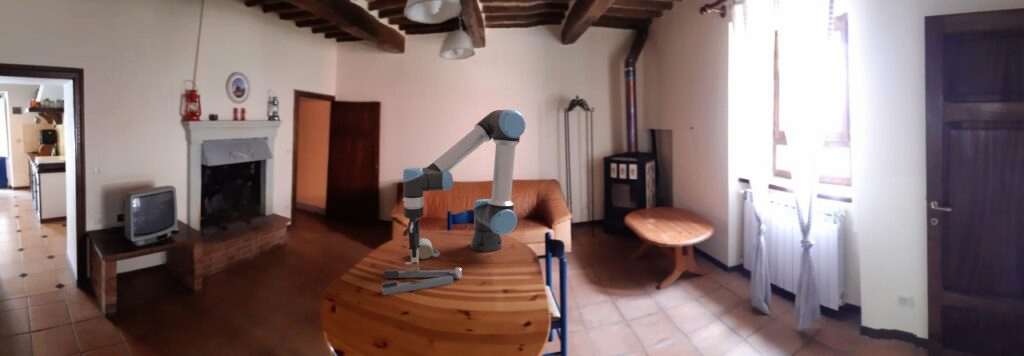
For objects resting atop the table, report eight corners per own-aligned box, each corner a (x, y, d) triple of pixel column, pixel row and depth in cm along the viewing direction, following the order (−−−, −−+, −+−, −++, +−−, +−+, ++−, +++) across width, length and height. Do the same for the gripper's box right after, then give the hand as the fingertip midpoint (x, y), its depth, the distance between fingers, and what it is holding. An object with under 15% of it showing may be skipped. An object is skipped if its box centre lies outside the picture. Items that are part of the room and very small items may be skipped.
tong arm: (462, 273, 159) (462, 261, 158) (461, 279, 153) (461, 266, 152) (387, 274, 157) (386, 262, 157) (383, 280, 152) (382, 267, 151)
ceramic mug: (416, 261, 173) (416, 243, 172) (414, 255, 181) (414, 238, 180) (441, 259, 177) (441, 242, 176) (438, 253, 184) (438, 236, 183)
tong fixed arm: (450, 280, 153) (450, 272, 153) (453, 283, 150) (453, 275, 150) (382, 291, 143) (381, 283, 143) (383, 295, 140) (383, 286, 139)
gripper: (407, 203, 166) (408, 258, 170) (400, 210, 153) (402, 270, 157) (425, 203, 167) (426, 258, 170) (420, 210, 154) (421, 269, 157)
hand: (414, 263), depth 163 cm, fingers closed
